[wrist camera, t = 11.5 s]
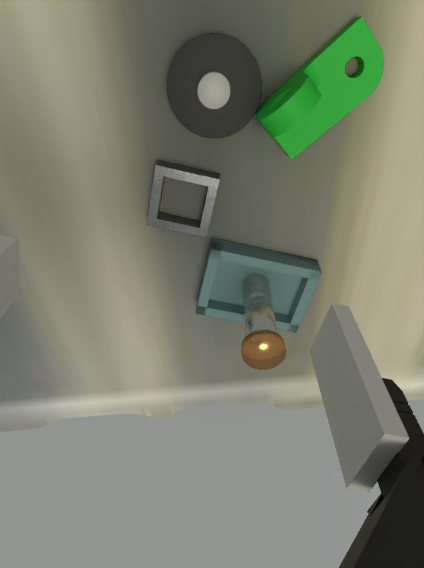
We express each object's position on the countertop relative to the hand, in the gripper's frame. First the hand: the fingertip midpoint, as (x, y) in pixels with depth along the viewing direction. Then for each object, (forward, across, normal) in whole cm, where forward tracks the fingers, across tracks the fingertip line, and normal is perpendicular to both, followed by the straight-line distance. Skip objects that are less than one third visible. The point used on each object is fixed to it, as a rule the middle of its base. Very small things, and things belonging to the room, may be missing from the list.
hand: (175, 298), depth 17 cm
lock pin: (+30, +10, -16) cm, 35 cm away
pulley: (+31, 0, +5) cm, 31 cm away
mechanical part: (+31, +10, +7) cm, 34 cm away
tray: (+31, +10, -16) cm, 36 cm away
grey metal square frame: (+31, -1, -7) cm, 31 cm away
